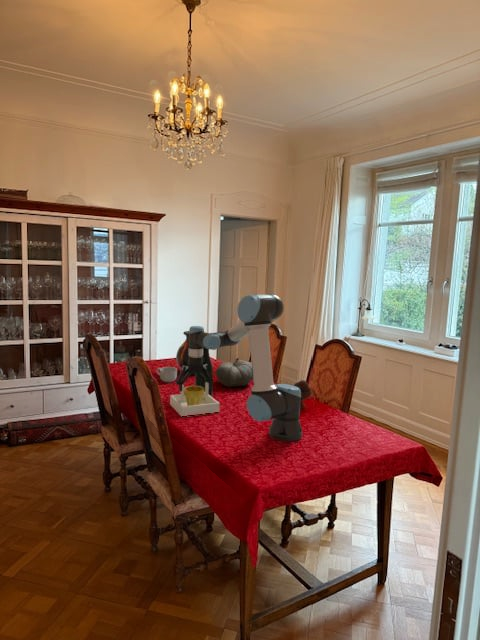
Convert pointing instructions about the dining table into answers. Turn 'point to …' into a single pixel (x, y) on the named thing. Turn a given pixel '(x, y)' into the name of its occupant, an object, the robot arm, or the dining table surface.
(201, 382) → the beer bottle
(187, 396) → the plant pot
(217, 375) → the gourd
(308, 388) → the ice cream bowl
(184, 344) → the amphora vase
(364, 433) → the dining table surface
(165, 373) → the teacup
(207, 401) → the bin
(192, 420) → the dining table surface
